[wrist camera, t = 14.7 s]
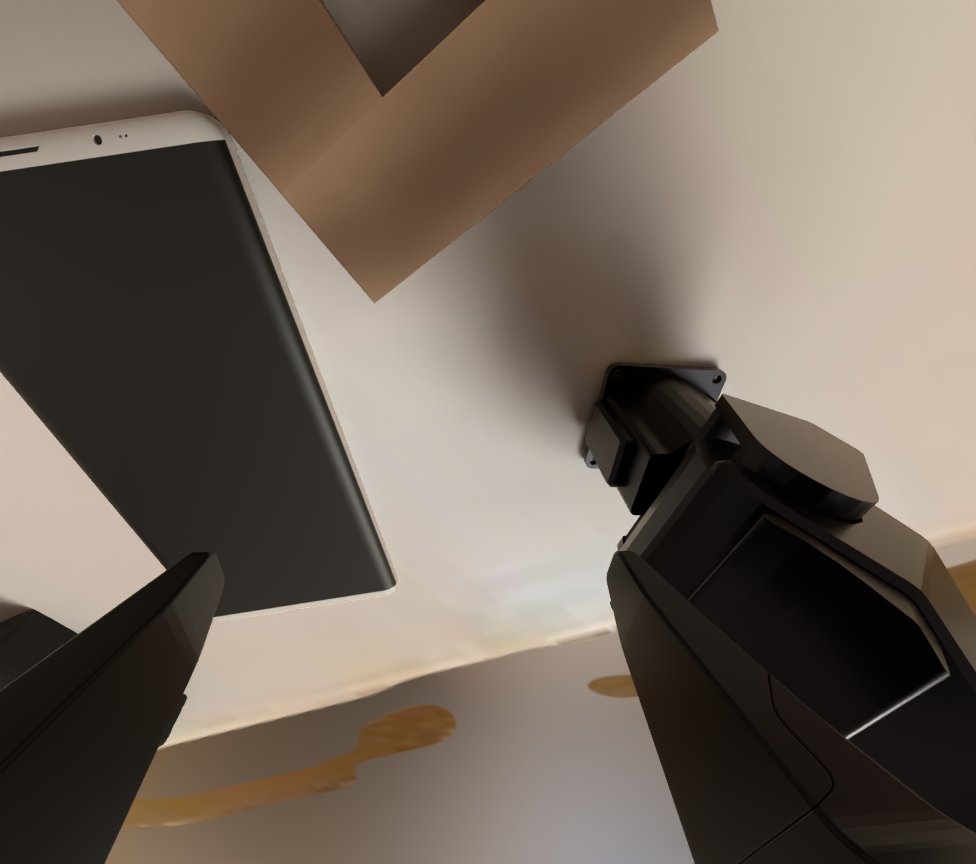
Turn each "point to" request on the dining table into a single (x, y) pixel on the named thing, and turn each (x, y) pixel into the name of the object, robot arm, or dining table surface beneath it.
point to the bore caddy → (415, 108)
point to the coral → (39, 648)
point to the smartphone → (180, 359)
